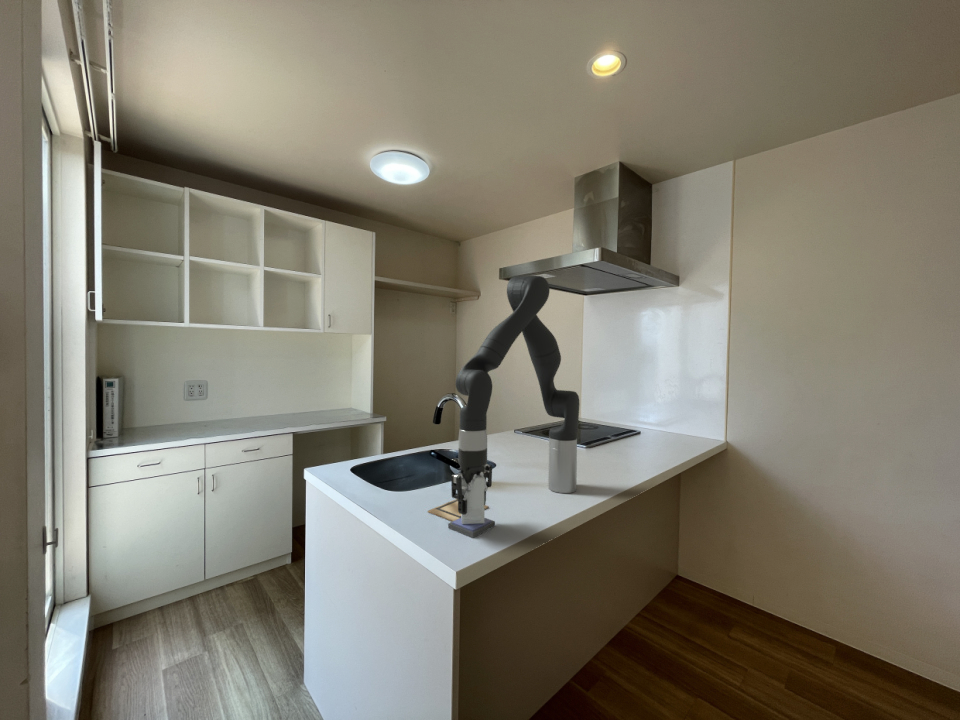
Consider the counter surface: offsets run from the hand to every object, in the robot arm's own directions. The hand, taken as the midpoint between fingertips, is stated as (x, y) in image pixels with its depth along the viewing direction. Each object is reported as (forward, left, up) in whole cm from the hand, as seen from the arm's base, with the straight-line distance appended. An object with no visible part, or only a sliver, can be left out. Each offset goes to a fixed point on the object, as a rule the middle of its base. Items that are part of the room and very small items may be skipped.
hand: (472, 509), depth 102 cm
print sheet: (-6, -10, -5) cm, 13 cm away
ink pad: (0, 0, -5) cm, 5 cm away
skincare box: (0, 0, -3) cm, 3 cm away
